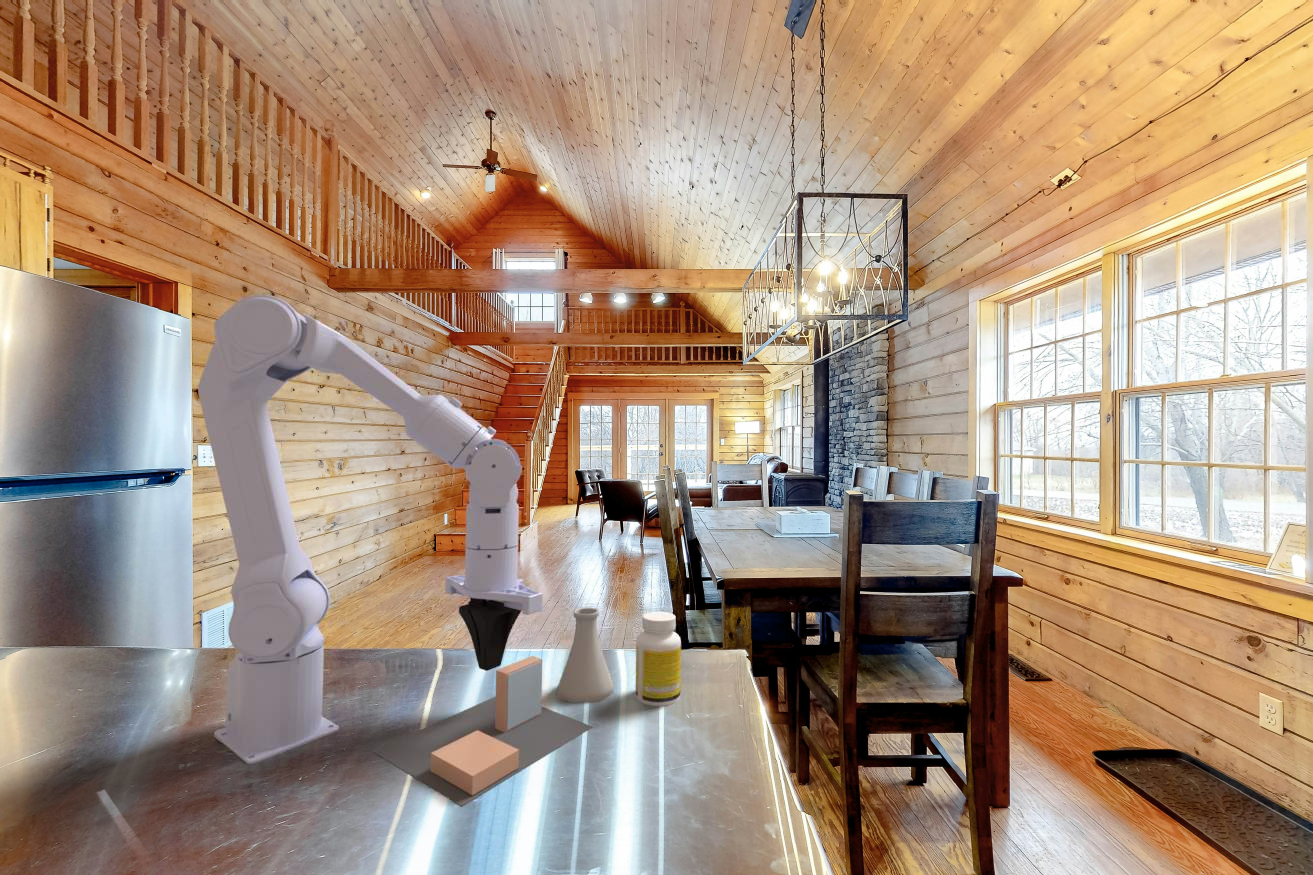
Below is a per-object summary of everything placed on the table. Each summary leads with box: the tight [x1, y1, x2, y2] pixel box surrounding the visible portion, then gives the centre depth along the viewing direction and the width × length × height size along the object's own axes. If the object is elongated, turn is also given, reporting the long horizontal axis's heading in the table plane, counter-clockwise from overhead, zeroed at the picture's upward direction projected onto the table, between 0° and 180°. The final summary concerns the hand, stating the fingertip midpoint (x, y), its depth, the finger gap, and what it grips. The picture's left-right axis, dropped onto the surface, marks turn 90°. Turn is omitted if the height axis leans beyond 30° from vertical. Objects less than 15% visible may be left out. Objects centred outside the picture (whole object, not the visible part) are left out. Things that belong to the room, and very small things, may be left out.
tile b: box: [495, 655, 543, 733], centre depth 59 cm, size 2×5×6 cm, turn 145°
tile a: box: [431, 730, 519, 795], centre depth 50 cm, size 2×5×6 cm
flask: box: [556, 606, 615, 704], centre depth 67 cm, size 7×7×10 cm
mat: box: [372, 695, 594, 807], centre depth 55 cm, size 14×16×1 cm
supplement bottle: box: [635, 611, 682, 707], centre depth 66 cm, size 5×5×10 cm
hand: (490, 666), depth 62 cm, fingers closed
